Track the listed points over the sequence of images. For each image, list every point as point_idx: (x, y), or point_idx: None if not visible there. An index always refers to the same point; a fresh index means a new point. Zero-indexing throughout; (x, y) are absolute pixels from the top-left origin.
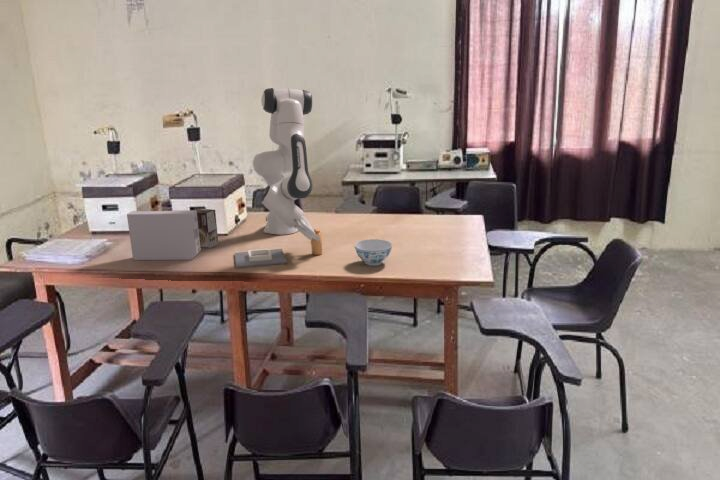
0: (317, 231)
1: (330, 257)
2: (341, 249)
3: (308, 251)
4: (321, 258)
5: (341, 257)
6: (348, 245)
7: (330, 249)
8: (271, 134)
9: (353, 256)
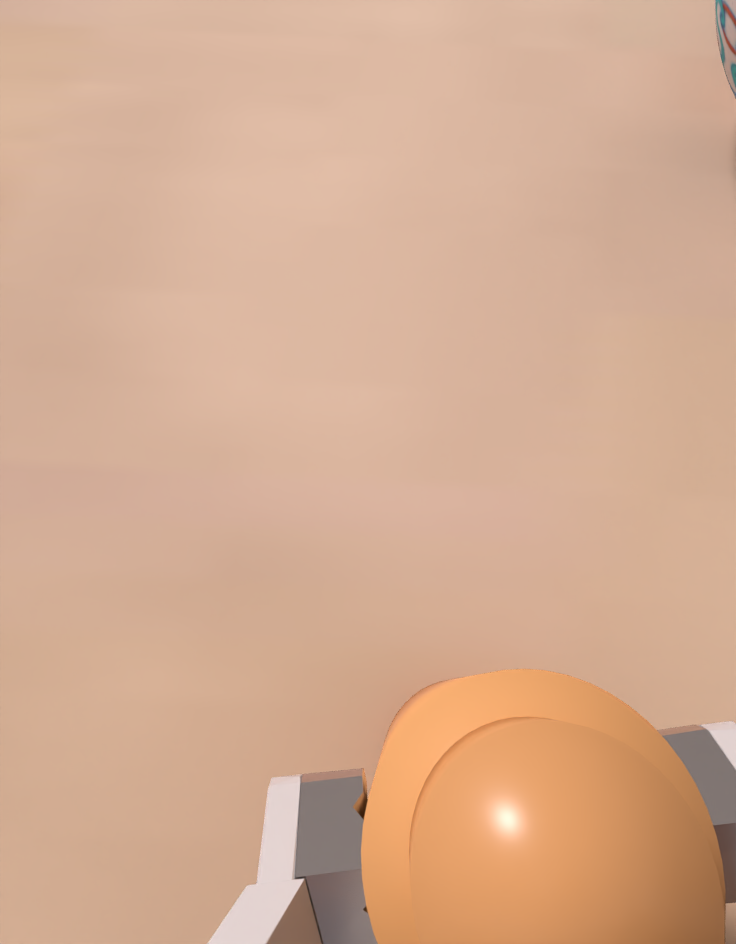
0: (688, 826)
1: (645, 567)
2: (315, 412)
3: None
4: (692, 703)
5: (647, 429)
6: (175, 328)
7: (284, 548)
8: None
9: (611, 299)
